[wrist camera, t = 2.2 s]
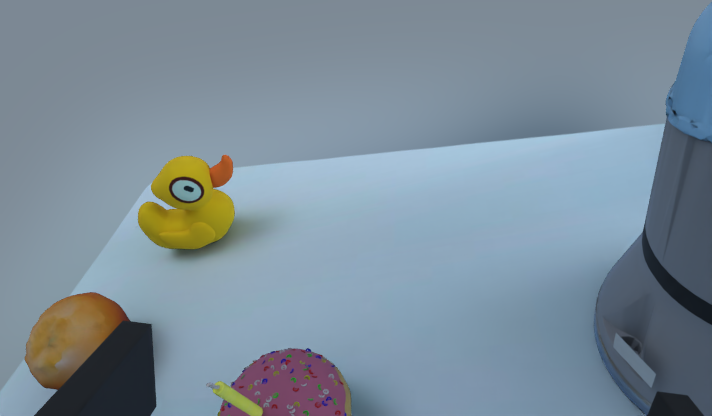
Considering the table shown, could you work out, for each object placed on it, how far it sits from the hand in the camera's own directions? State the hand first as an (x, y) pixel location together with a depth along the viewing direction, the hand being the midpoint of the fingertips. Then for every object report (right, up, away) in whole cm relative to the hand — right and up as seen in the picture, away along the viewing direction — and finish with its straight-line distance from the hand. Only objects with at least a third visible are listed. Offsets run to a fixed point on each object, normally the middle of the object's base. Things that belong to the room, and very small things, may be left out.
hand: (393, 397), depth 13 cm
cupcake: (-4, -11, +20) cm, 23 cm away
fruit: (-23, -9, +30) cm, 39 cm away
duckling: (-17, +2, +39) cm, 43 cm away
